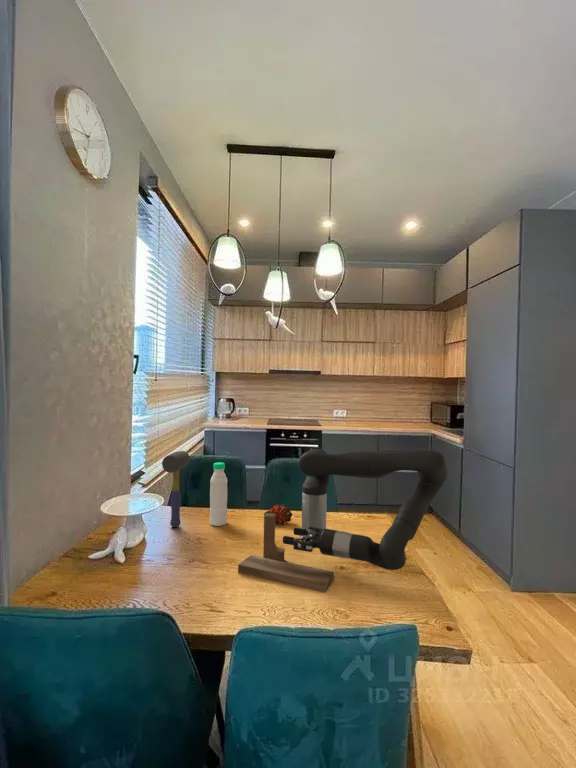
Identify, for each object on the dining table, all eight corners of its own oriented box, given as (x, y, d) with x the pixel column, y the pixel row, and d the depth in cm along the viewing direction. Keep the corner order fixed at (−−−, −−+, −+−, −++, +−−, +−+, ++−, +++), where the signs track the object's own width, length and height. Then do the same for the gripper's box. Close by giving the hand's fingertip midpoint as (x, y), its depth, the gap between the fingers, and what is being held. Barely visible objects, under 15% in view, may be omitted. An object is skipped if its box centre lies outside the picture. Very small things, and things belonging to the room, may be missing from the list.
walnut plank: (250, 562, 133) (250, 554, 133) (334, 580, 122) (334, 571, 122) (238, 572, 126) (238, 564, 126) (325, 592, 115) (325, 583, 115)
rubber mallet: (173, 521, 172) (174, 449, 172) (190, 522, 171) (191, 450, 171) (159, 531, 160) (160, 454, 160) (177, 533, 158) (178, 455, 159)
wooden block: (263, 562, 134) (263, 515, 134) (264, 558, 137) (265, 512, 137) (283, 563, 133) (284, 516, 133) (284, 559, 136) (285, 513, 137)
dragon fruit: (293, 529, 169) (265, 531, 172) (295, 512, 176) (268, 514, 179) (289, 516, 165) (260, 518, 167) (291, 499, 172) (263, 501, 174)
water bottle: (225, 526, 167) (226, 464, 167) (207, 526, 167) (208, 464, 167) (228, 521, 174) (229, 461, 174) (211, 520, 174) (212, 461, 174)
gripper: (344, 524, 132) (297, 516, 139) (330, 539, 119) (279, 530, 126) (343, 547, 132) (297, 539, 139) (330, 565, 119) (279, 554, 126)
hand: (288, 535), depth 132 cm, fingers open, 8 cm apart
